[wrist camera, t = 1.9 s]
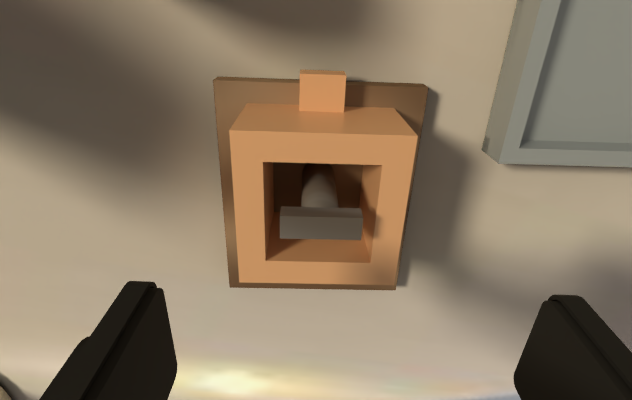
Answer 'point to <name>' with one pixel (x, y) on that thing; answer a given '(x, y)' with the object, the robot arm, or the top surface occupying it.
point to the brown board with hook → (309, 168)
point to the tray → (565, 86)
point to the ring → (328, 148)
